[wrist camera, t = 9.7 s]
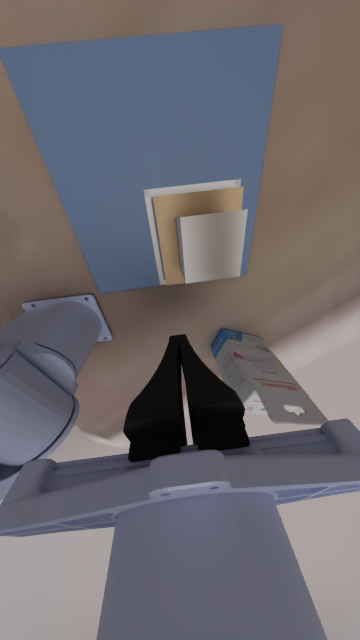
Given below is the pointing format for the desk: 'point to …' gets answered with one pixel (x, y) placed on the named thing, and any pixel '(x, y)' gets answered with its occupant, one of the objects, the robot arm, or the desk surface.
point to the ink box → (262, 380)
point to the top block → (211, 245)
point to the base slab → (183, 207)
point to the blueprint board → (146, 132)
